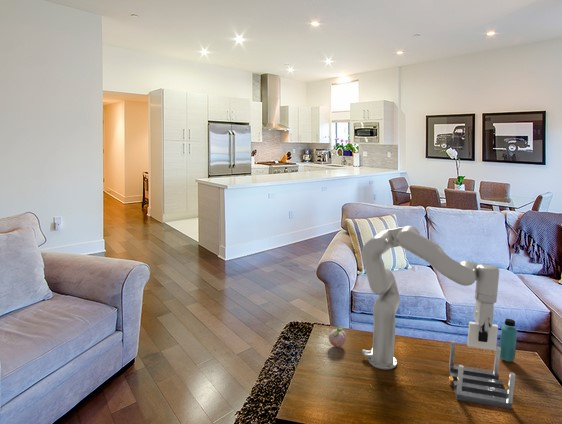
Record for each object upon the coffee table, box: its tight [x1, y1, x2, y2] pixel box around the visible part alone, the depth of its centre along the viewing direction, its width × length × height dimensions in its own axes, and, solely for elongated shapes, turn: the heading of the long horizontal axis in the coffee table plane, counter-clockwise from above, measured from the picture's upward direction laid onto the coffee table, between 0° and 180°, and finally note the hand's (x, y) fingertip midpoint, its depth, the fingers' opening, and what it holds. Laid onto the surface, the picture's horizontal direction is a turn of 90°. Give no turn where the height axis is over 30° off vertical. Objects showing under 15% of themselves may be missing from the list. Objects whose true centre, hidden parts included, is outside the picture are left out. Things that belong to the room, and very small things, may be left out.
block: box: [466, 321, 499, 351], centre depth 148 cm, size 10×2×10 cm, turn 73°
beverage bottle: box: [498, 318, 518, 362], centre depth 170 cm, size 6×7×20 cm
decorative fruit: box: [328, 327, 347, 348], centre depth 182 cm, size 9×8×10 cm
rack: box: [448, 339, 516, 410], centre depth 151 cm, size 21×21×14 cm
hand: (481, 339), depth 148 cm, fingers closed on block, 2 cm apart
